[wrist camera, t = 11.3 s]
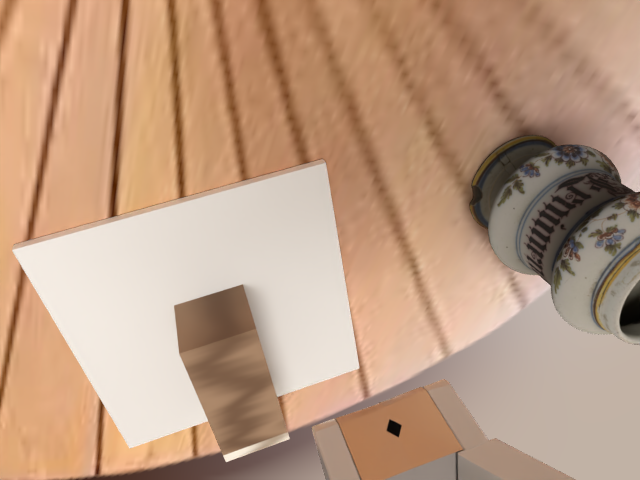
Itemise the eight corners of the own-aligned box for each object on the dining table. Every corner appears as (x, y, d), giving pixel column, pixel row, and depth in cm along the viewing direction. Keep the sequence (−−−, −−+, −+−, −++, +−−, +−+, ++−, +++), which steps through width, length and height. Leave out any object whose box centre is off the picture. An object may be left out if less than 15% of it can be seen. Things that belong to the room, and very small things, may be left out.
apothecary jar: (456, 143, 46) (610, 252, 31) (577, 108, 48) (776, 194, 33) (458, 255, 52) (585, 387, 38) (564, 220, 54) (724, 333, 40)
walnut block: (256, 328, 41) (289, 438, 48) (242, 284, 46) (275, 390, 53) (179, 353, 40) (226, 462, 48) (173, 305, 45) (217, 410, 52)
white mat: (322, 158, 43) (325, 162, 42) (356, 363, 56) (359, 368, 55) (14, 244, 39) (11, 250, 38) (129, 441, 52) (129, 448, 51)
